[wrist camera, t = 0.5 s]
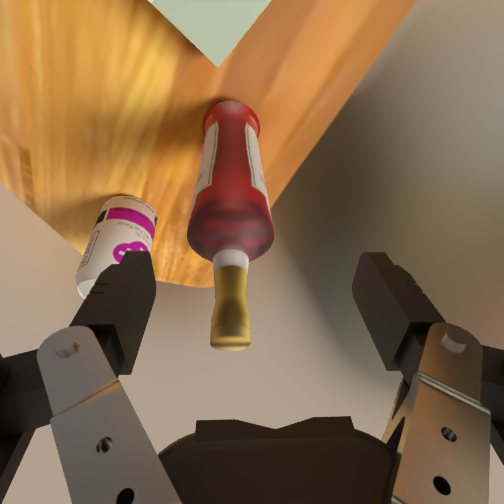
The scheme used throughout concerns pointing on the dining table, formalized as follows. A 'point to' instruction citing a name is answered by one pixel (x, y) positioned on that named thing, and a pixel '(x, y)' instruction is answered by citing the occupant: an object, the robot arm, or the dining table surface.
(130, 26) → the dining table surface
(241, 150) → the liquor
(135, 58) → the dining table surface
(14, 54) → the dining table surface
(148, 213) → the supplement can
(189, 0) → the trap plank
